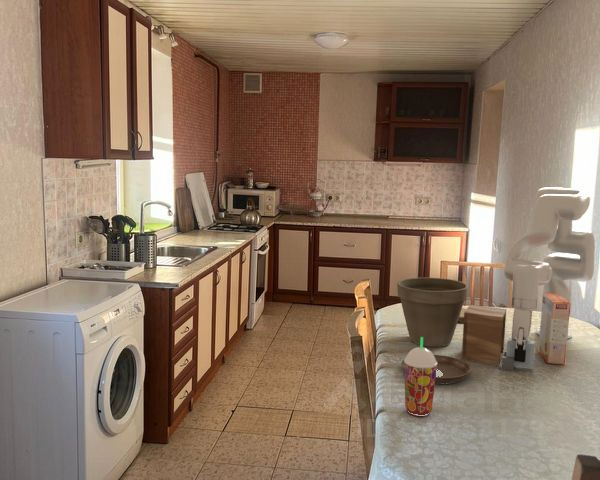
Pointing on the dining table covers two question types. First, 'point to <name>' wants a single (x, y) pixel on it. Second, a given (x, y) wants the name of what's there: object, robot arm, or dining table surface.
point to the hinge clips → (507, 363)
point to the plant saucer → (449, 369)
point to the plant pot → (432, 308)
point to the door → (528, 357)
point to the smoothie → (419, 380)
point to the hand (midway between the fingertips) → (520, 359)
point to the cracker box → (554, 328)
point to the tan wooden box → (483, 334)
